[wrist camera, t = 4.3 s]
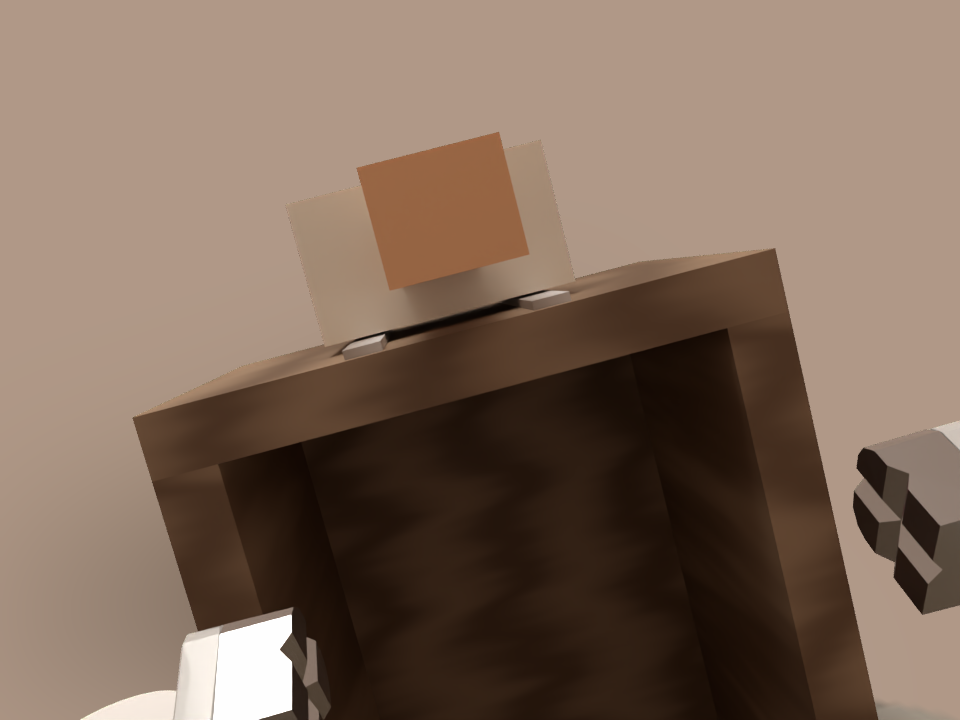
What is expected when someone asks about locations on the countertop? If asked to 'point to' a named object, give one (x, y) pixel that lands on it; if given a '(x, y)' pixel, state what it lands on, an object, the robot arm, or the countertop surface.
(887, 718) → the countertop surface
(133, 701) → the spread jar
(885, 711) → the countertop surface
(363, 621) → the walnut stand
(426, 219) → the cream block mallet
